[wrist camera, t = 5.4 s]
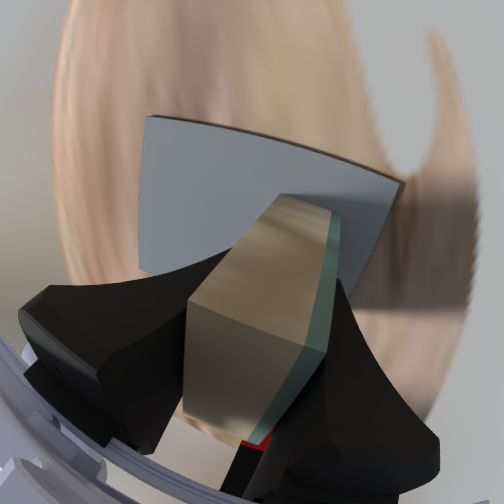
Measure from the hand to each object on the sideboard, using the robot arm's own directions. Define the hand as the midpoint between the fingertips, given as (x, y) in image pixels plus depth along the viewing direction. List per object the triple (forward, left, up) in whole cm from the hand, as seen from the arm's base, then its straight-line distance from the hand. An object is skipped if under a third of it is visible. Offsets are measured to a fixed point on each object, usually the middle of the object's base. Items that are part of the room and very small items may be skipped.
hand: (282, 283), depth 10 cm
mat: (-3, 0, -2) cm, 3 cm away
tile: (0, 0, -2) cm, 2 cm away
